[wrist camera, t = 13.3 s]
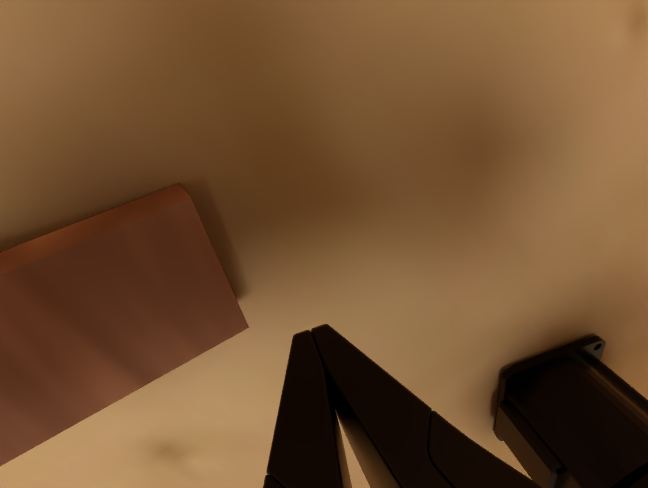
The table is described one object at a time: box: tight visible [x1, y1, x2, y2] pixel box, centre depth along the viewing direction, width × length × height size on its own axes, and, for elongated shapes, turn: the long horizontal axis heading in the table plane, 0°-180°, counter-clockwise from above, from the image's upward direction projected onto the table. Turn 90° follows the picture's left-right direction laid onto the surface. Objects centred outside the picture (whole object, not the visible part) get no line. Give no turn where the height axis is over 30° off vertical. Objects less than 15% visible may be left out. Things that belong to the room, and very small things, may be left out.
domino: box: [0, 183, 249, 466], centre depth 11 cm, size 2×5×8 cm
